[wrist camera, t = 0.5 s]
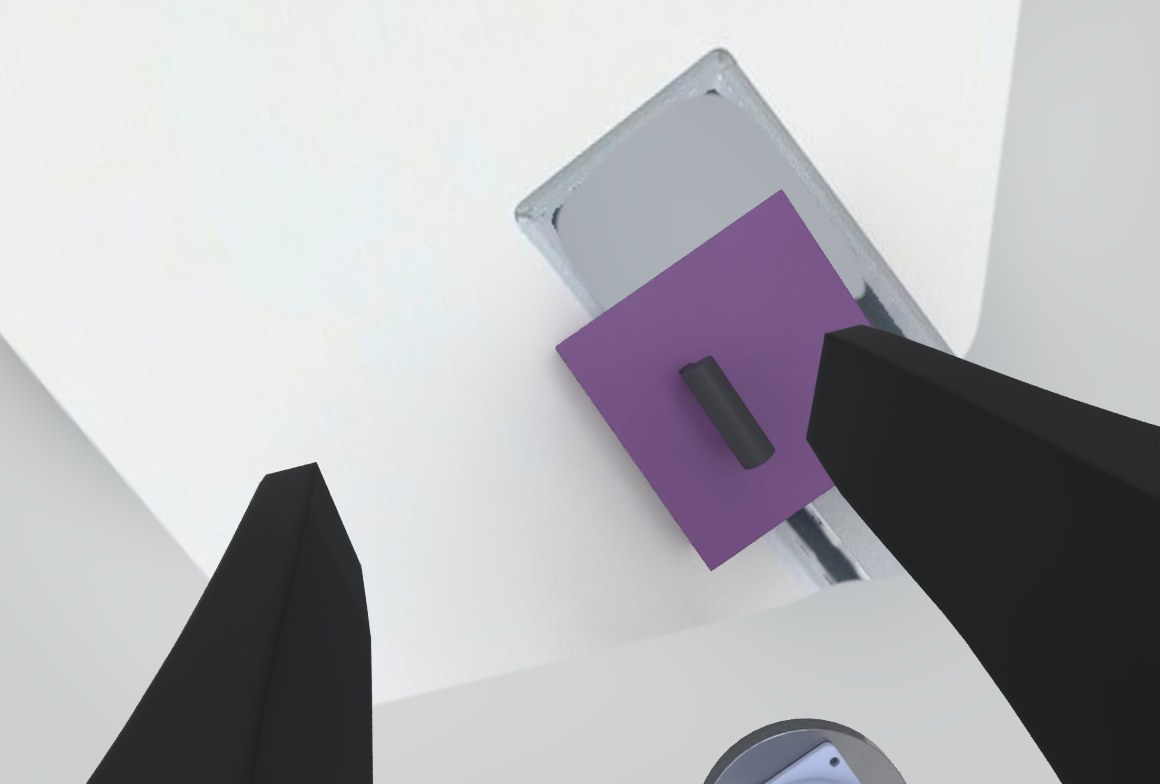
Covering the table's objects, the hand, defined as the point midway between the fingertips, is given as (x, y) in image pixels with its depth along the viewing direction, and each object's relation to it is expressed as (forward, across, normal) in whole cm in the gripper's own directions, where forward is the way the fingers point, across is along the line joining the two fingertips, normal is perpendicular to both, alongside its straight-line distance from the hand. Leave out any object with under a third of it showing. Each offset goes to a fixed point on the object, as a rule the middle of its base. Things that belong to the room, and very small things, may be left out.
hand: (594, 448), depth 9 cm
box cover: (+16, -12, +14) cm, 24 cm away
